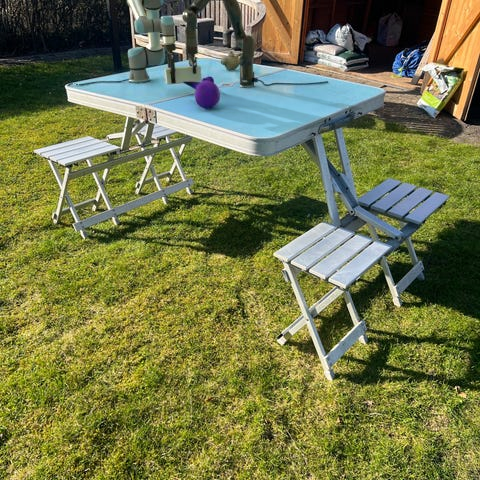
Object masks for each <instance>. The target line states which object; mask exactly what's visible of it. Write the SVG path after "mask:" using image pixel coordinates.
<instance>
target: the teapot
mask: <svg viewBox="0 0 480 480" xmlns="http://www.w3.org/2000/svg"><path fill="white" fill-rule="evenodd" d="M241 55H242V51H241V52H238V53H236V54H235V53H234V52H233V50H230V51H229V53H228V55H227V57H226V56H225V57H222V58H221V59H220V64H221V65H222V66H224V68H225V69H226V71H229V72H231V71H235V70H236V69H238V68H240V59H239V58H240V56H241Z"/></svg>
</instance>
